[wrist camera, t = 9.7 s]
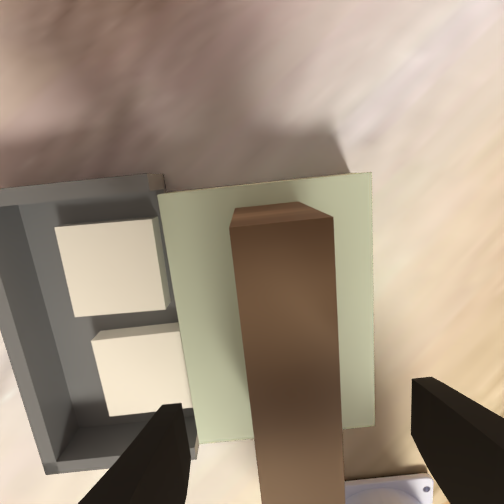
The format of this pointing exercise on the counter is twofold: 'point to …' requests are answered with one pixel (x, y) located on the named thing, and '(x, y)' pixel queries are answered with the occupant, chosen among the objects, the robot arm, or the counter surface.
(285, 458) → the brown wooden block
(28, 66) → the counter surface
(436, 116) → the counter surface
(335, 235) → the plate
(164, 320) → the tray
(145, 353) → the tile
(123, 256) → the tile
